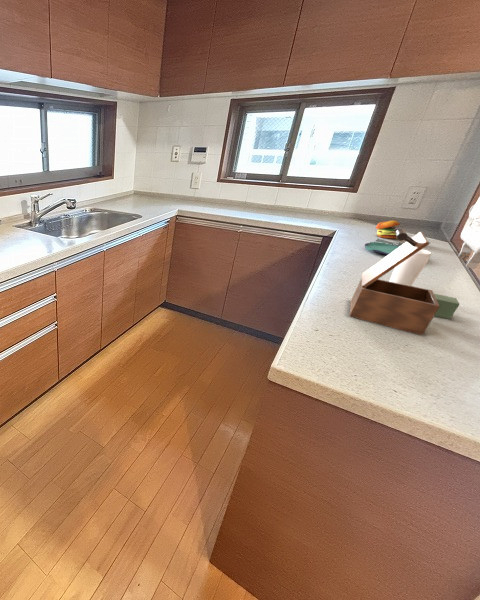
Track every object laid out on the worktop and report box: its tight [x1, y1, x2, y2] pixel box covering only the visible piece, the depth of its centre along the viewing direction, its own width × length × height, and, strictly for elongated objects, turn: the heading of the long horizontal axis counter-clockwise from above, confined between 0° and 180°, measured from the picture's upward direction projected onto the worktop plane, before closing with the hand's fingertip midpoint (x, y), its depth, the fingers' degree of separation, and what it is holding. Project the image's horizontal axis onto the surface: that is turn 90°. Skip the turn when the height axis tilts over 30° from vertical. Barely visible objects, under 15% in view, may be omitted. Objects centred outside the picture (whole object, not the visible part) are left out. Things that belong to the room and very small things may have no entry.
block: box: [434, 293, 460, 320], centre depth 96 cm, size 5×5×5 cm
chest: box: [349, 277, 440, 336], centre depth 92 cm, size 16×13×9 cm
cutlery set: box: [364, 238, 404, 256], centre depth 152 cm, size 20×30×2 cm, turn 132°
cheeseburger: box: [375, 219, 401, 241], centre depth 173 cm, size 10×11×10 cm
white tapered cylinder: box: [388, 248, 432, 286], centre depth 106 cm, size 7×7×15 cm
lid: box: [361, 228, 430, 288], centre depth 90 cm, size 16×13×5 cm
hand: (465, 262), depth 90 cm, fingers open, 8 cm apart
